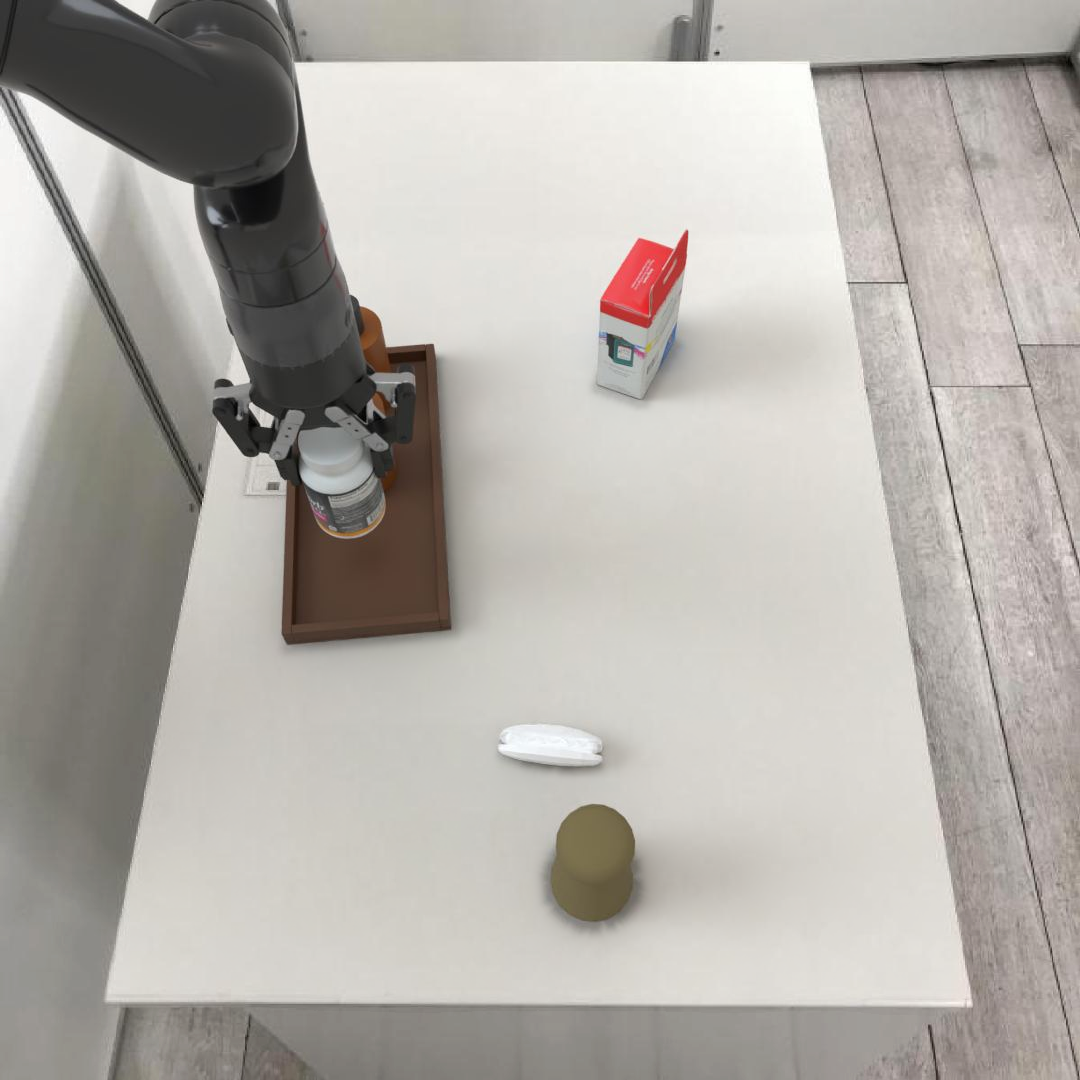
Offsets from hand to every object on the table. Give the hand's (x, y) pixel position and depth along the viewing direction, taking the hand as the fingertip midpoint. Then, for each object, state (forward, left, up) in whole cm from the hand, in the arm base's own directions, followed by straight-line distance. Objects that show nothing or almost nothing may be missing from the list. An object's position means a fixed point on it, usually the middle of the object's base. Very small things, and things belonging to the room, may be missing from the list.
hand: (339, 471), depth 80 cm
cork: (+16, -29, -14) cm, 35 cm away
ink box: (+26, +19, -14) cm, 35 cm away
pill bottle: (0, 0, -6) cm, 6 cm away
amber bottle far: (0, +18, -13) cm, 22 cm away
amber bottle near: (0, +9, -13) cm, 16 cm away
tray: (0, +7, -14) cm, 15 cm away
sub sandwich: (+14, -19, -14) cm, 27 cm away
